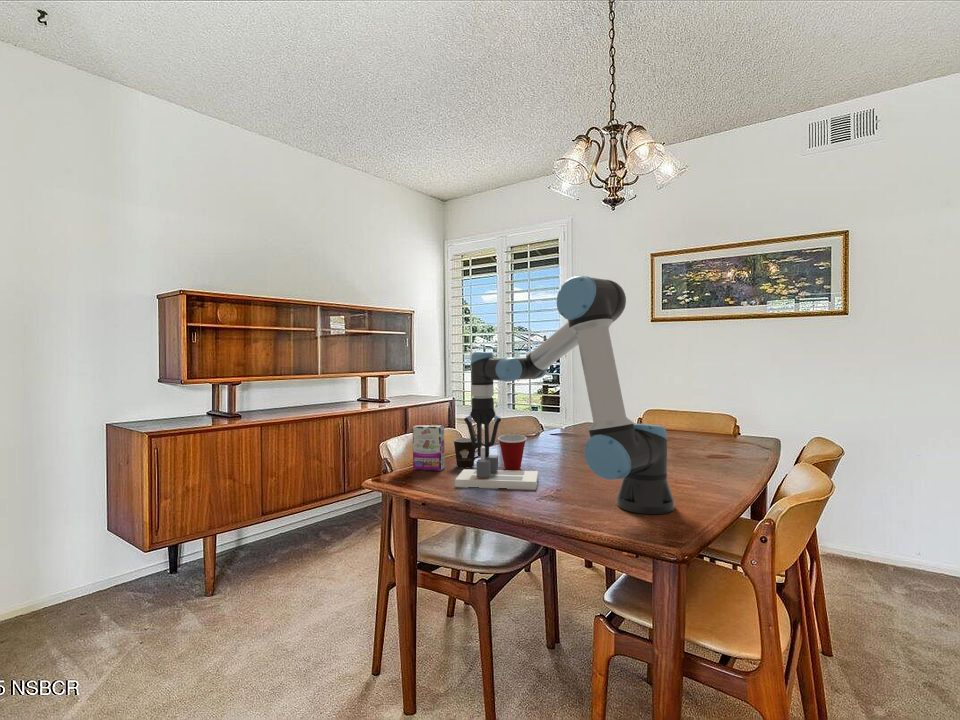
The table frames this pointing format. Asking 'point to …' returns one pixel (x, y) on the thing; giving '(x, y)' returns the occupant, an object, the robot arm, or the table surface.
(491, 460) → the switch tab far
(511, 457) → the plastic cup
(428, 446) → the candy bar box
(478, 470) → the switch tab near
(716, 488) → the table surface
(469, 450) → the coffee mug
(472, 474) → the switch panel
